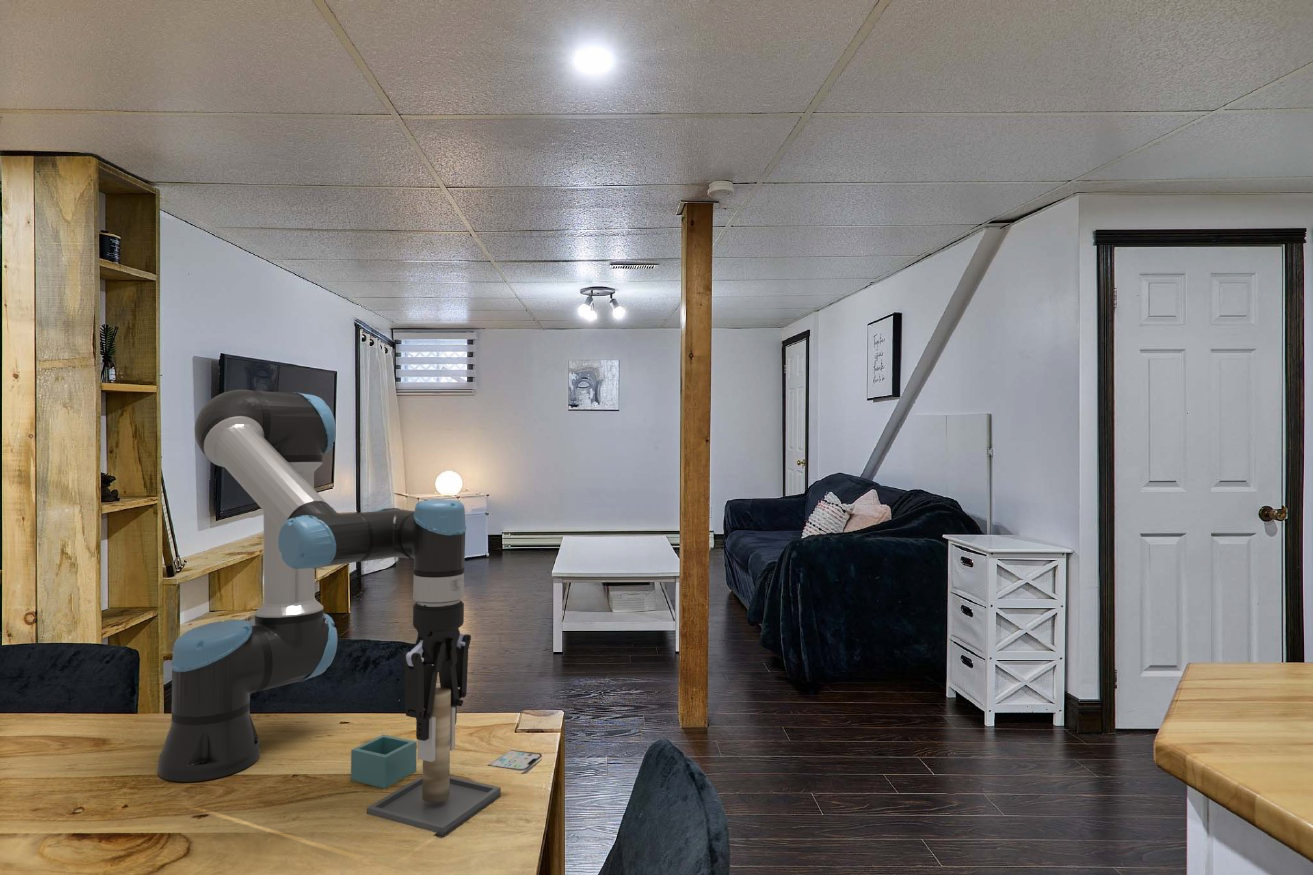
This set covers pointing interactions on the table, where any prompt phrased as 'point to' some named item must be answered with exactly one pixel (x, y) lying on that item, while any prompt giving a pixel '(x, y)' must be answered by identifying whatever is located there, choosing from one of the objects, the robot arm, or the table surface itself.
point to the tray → (436, 805)
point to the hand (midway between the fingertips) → (436, 753)
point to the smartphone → (517, 761)
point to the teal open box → (383, 761)
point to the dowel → (439, 751)
